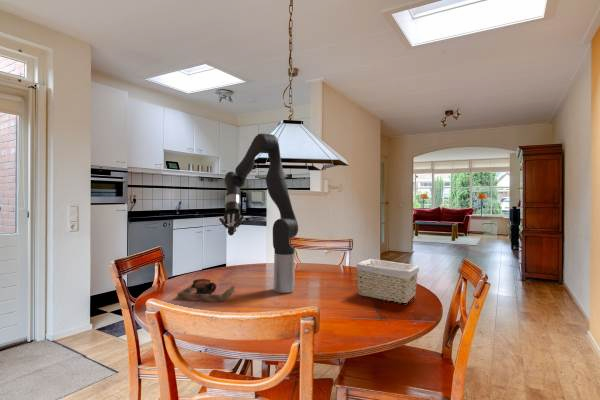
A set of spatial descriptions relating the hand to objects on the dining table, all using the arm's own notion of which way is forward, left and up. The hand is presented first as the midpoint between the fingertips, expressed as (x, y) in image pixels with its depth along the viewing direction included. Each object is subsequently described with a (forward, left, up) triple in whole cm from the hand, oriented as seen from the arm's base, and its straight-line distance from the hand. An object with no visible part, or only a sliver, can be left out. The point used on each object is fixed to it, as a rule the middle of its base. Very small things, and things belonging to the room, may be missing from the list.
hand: (230, 234), depth 165 cm
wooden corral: (+4, +19, -24) cm, 31 cm away
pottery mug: (+5, +20, -25) cm, 32 cm away
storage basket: (-74, +5, -25) cm, 78 cm away
